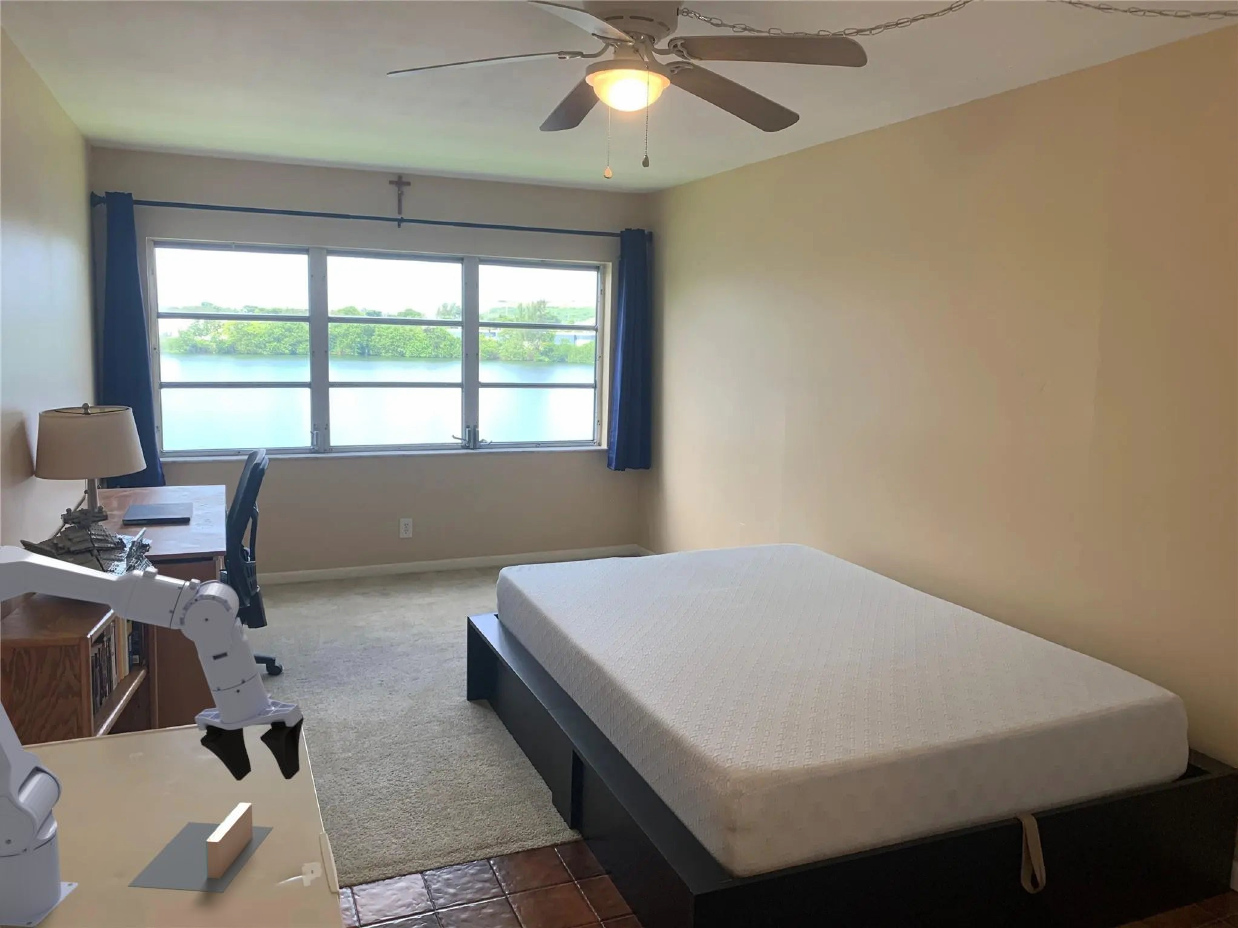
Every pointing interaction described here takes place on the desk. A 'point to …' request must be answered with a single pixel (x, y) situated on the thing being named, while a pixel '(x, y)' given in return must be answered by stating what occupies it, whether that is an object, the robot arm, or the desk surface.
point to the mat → (193, 861)
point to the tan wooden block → (229, 840)
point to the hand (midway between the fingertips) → (268, 775)
